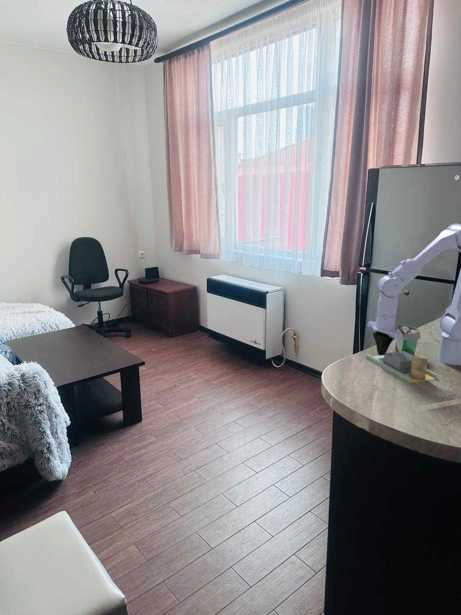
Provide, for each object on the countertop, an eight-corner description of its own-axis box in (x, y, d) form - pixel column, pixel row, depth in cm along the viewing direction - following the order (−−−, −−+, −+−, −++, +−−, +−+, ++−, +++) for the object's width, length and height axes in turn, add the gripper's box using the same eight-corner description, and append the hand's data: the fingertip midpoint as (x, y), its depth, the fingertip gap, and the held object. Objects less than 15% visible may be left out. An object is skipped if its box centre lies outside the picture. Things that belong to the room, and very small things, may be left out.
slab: (402, 363, 134) (404, 351, 133) (418, 371, 127) (420, 359, 126) (382, 365, 131) (384, 353, 130) (398, 374, 125) (400, 361, 124)
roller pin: (417, 373, 126) (420, 354, 124) (428, 379, 122) (430, 359, 121) (406, 375, 124) (409, 356, 123) (417, 380, 121) (419, 361, 119)
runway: (390, 357, 141) (391, 351, 141) (436, 381, 123) (437, 374, 122) (364, 360, 138) (365, 354, 137) (408, 386, 120) (409, 378, 119)
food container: (421, 365, 135) (425, 335, 132) (400, 363, 136) (404, 334, 133) (412, 352, 146) (416, 324, 144) (394, 350, 147) (397, 323, 145)
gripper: (361, 309, 140) (357, 348, 143) (391, 321, 126) (386, 364, 130) (379, 307, 142) (375, 346, 145) (410, 319, 129) (404, 361, 132)
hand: (381, 354), depth 138 cm, fingers closed
